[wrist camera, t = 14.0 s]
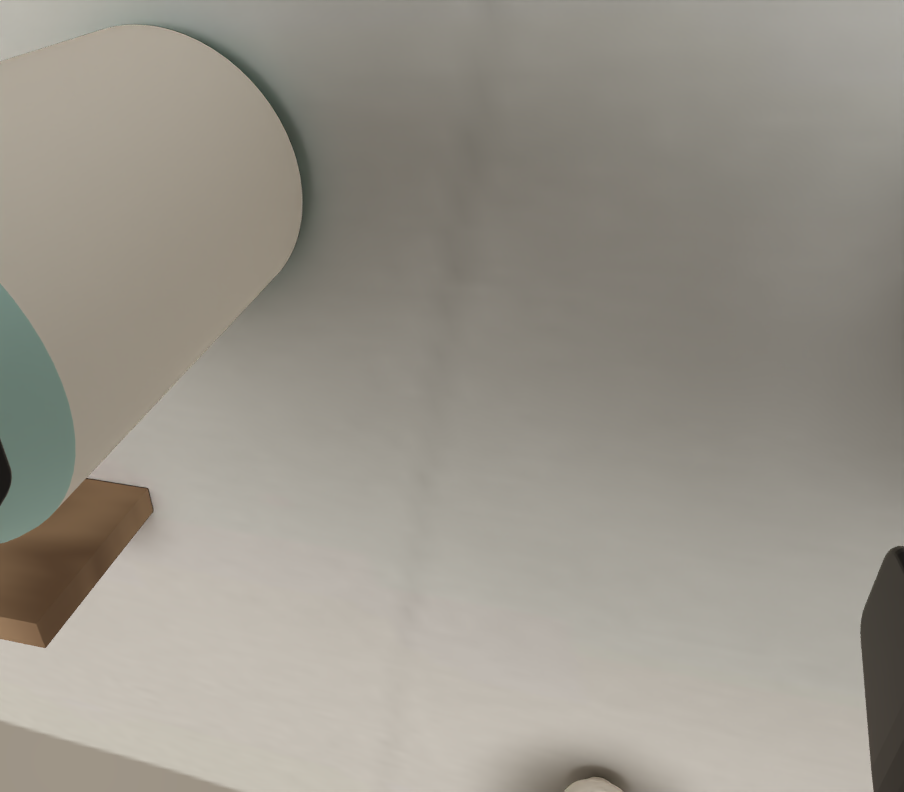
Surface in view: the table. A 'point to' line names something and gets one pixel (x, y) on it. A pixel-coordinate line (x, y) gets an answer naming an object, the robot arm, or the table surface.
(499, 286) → the table surface
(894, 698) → the robot arm
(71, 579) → the three-sided wooden tray
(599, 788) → the lightbulb
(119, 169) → the can
